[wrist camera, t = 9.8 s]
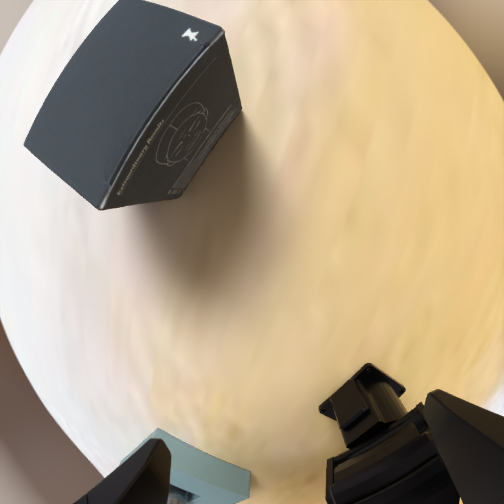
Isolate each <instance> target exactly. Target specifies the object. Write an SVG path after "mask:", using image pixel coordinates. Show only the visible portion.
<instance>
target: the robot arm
mask: <svg viewBox="0 0 504 504" xmlns="http://www.w3.org/2000/svg"><path fill="white" fill-rule="evenodd" d="M368 368H370V369H368ZM367 369H368V370H367ZM400 390H401V391H400ZM405 391H406V389H405V387H404V386H403V385H402V384H400V383H399V382H397V381H396V380H394V379H393V378H392V377H390V376H389V375H387V374H386V373H384V372H383V371H382V370H380V369H379V368H377V367H376V366H374V365H373V364H372V363H367V364H365V365H364V366H363V367H362V368H361V369H360V370H359V371H358V372H357V373H356V374H355V375H354V376H353V377H352V378H350V379H349V380H348V381H347V382H346V383H345V384H344V385H343V386H342V387H341V388H340V389H338V390H337V391H336V392H335V393H334V394H333V395H332V396H331V397H329V398H328V399H327V400H326V401H325V402H324V403H322V404H321V405H320V406H319V412H320V413H321V414H323V415H325V416H328V417H330V418H332V419H334V420H336V421H337V422H338V425H339V428H340V429H341V432H342V435H343V438H344V442H345V445H346V447H347V448H348V450H347V451H345V452H343V453H342V454H340V455H338V456H336V457H332V458H330V459H327V468H326V497H325V498H326V501H327V504H459V501H460V497H461V500H462V502H463V504H504V417H503V416H501V415H498V414H496V413H493V412H491V411H489V410H486V409H484V408H481V407H479V406H477V405H474V404H472V403H470V402H467V401H465V400H463V399H460V398H458V397H456V396H453V395H451V394H449V393H447V392H444V391H442V390H440V389H436V390H434V391H432V392H429V393H428V394H427V397H426V401H425V405H423V404H422V402H420V403H419V404H418V405H416V407H415V408H414V409H412V410H411V411H410V412H407V410H406V409H405V407H404V405H403V404H402V402H401V401H400V399H399V397H400V396H401V395H402V394H404V392H405ZM324 408H325V409H324ZM171 459H172V456H171V452H170V450H169V448H168V447H167V445H166V444H165V442H164V440H163V439H161V438H150V439H149V440H148V441H146V442H145V443H144V444H143V445H142V446H141V447H140V448H139V449H138V450H137V451H135V452H134V453H133V454H132V455H131V456H130V457H129V458H128V459H127V460H125V461H124V462H123V463H122V464H121V465H120V466H119V467H117V468H116V469H115V470H114V471H113V472H112V473H110V474H109V475H108V476H107V477H106V478H105V479H103V480H102V481H101V482H100V483H99V484H97V485H96V486H95V487H94V488H92V489H91V490H90V491H89V492H88V493H87V494H85V495H84V496H83V497H81V498H80V499H79V500H77V501H76V502H75V503H73V504H167V501H168V496H169V488H170V473H171Z"/></svg>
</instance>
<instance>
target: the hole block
mask: <svg viewBox="0 0 504 504" xmlns="http://www.w3.org/2000/svg"><path fill="white" fill-rule="evenodd" d="M150 438H161V439H163V440H164V442H165V444H166V445H167V447H168V448H169V450H170V452H171V456H172V459H171V473H170V484H172V485H174V486H176V487H179V488H181V489H183V490H186V491H188V492H189V494H188V499H187V504H236V503H238V502H240V501H243V500H245V499H247V498H249V491H250V471H248V470H245V469H242V468H240V467H237V466H235V465H232V464H230V463H227V462H225V461H223V460H220V459H218V458H216V457H213V456H211V455H209V454H207V453H205V452H203V451H201V450H198V449H196V448H194V447H192V446H190V445H188V444H186V443H184V442H183V441H181V440H179V439H177V438H175V437H173V436H171V435H170V434H168V433H166V432H164V431H162V430H161V429H159V428H157V429H156V430H155V431H154V432H153V433H152V434H151V435H150V436H149V437H148V438H147V439H145V440H144V441H143V442H142V443H141V444H140V445H139V446H138V447H137V448H136V449H134V450H133V451H132V452H131V453H130V454H129V455H128V456H127V457H125V458H124V459H123V460H122V461H121V463H120V465H121V464H122V463H123V462H124V461H125V460H127V459H128V458H129V457H130V456H131V455H132V454H133V453H134V452H135V451H137V450H138V449H139V448H140V447H141V446H142V445H143V444H144V443H145V442H146V441H148V440H149V439H150ZM120 465H119V466H120Z"/></svg>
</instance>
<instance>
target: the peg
mask: <svg viewBox="0 0 504 504" xmlns="http://www.w3.org/2000/svg"><path fill="white" fill-rule="evenodd" d="M188 494H189V492H188V491H186V490H183V489H181V488H179V487H176V486H174V485H172V484H170V488H169V496H168V501H167V504H187V499H188Z"/></svg>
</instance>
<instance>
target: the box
mask: <svg viewBox="0 0 504 504" xmlns="http://www.w3.org/2000/svg"><path fill="white" fill-rule="evenodd" d="M241 110H242V106H241V101H240V97H239V92H238V88H237V84H236V79H235V74H234V70H233V66H232V62H231V58H230V54H229V49H228V45H227V41H226V38H225V31H224V30H223V29H222V27H220V26H218V25H215V24H213V23H210V22H207V21H205V20H202V19H199V18H197V17H194V16H191V15H189V14H186V13H183V12H180V11H177V10H174V9H171V8H168V7H165V6H162V5H159V4H155V3H152V2H148V1H145V0H119V1H118V2H117V3H116V4H115V5H114V6H113V7H112V8H111V9H110V10H109V12H108V13H107V14H106V15H105V16H104V17H103V18H102V19H101V21H100V22H99V23H98V24H97V25H96V26H95V28H94V29H93V30H92V31H91V33H90V34H89V35H88V36H87V38H86V39H85V40H84V42H83V43H82V44H81V45H80V47H79V48H78V49H77V51H76V52H75V54H74V55H73V56H72V58H71V59H70V61H69V62H68V64H67V65H66V67H65V68H64V70H63V71H62V73H61V74H60V76H59V78H58V79H57V81H56V82H55V84H54V86H53V87H52V89H51V91H50V92H49V94H48V96H47V98H46V99H45V101H44V103H43V105H42V107H41V109H40V111H39V113H38V114H37V116H36V118H35V120H34V123H33V125H32V127H31V129H30V131H29V133H28V135H27V137H26V140H25V142H24V146H25V147H26V148H27V149H28V150H29V151H30V152H31V153H32V154H33V155H34V156H36V157H37V158H38V159H39V160H40V161H41V162H42V163H43V164H45V165H46V166H47V167H48V168H49V169H50V170H51V171H53V172H54V173H55V174H56V175H57V176H59V177H60V178H61V179H62V180H63V181H64V182H66V183H67V184H68V185H69V186H71V187H72V188H73V189H74V190H75V191H76V192H77V193H79V194H80V195H81V196H82V197H83V198H85V199H86V200H87V201H88V202H89V203H91V204H92V205H93V206H94V207H95V208H96V209H98V210H107V209H112V208H119V207H124V206H130V205H136V204H142V203H149V202H156V201H162V200H170V199H177V198H179V197H180V195H181V194H182V193H183V191H184V190H185V188H186V187H187V185H188V183H189V182H190V181H191V179H192V178H193V176H194V175H195V173H196V172H197V170H198V169H199V167H200V166H201V164H202V163H203V162H204V160H205V159H206V157H207V156H208V154H209V153H210V151H211V150H212V149H213V147H214V146H215V145H216V143H217V142H218V140H219V139H220V138H221V136H222V135H223V134H224V132H225V131H226V129H227V128H228V127H229V125H230V124H231V123H232V122H233V120H234V119H235V118H236V116H237V115H238V114H239V112H240V111H241Z"/></svg>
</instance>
